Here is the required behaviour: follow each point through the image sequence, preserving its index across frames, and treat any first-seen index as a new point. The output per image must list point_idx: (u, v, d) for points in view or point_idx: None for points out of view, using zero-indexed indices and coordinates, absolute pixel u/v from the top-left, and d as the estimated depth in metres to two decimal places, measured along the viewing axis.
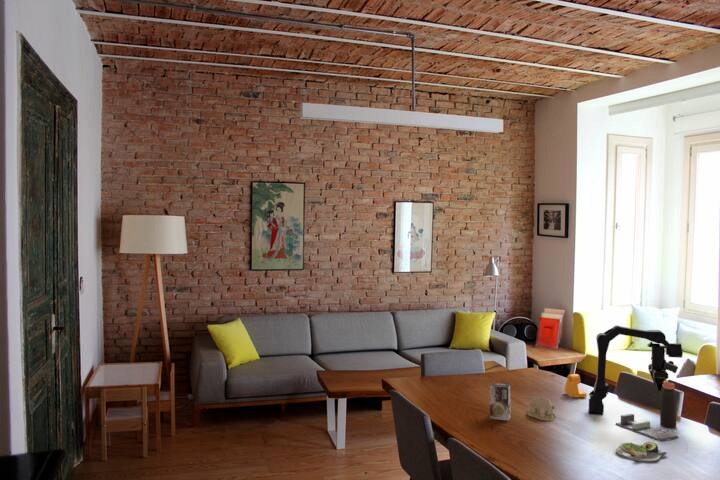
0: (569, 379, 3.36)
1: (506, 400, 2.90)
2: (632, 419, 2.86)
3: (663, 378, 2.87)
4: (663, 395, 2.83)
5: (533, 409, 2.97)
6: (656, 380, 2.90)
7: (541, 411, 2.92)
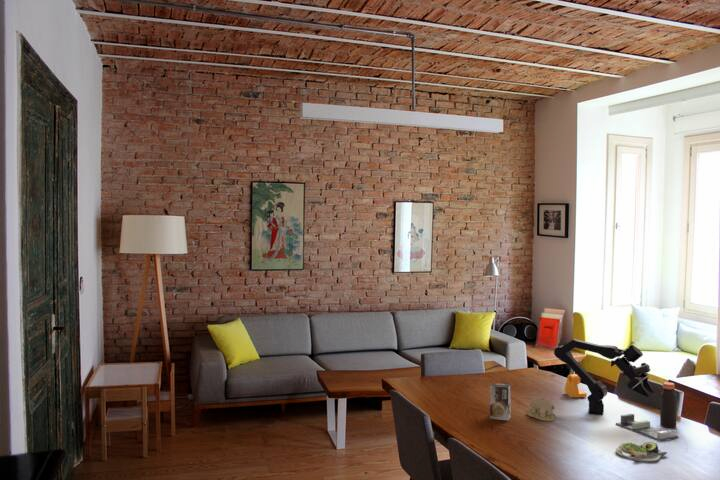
0: (569, 379, 3.36)
1: (506, 400, 2.90)
2: (632, 419, 2.86)
3: (638, 384, 2.84)
4: (663, 395, 2.83)
5: (533, 409, 2.97)
6: (636, 390, 2.86)
7: (541, 411, 2.92)
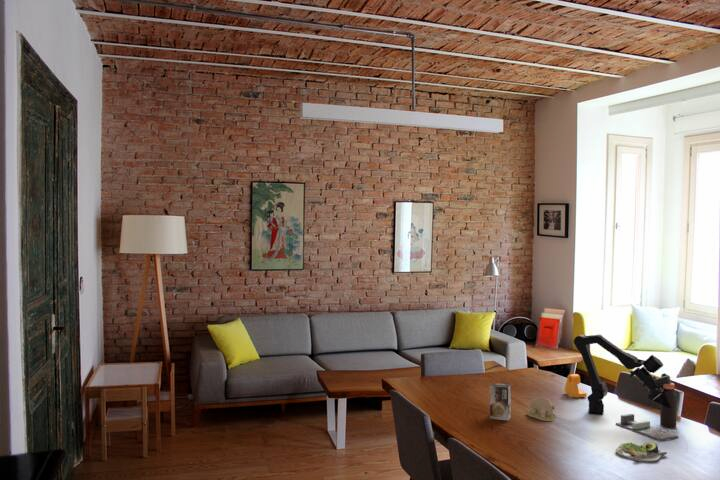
0: (569, 379, 3.36)
1: (506, 400, 2.90)
2: (632, 419, 2.86)
3: (659, 395, 2.80)
4: None
5: (533, 409, 2.97)
6: (658, 401, 2.82)
7: (541, 411, 2.92)
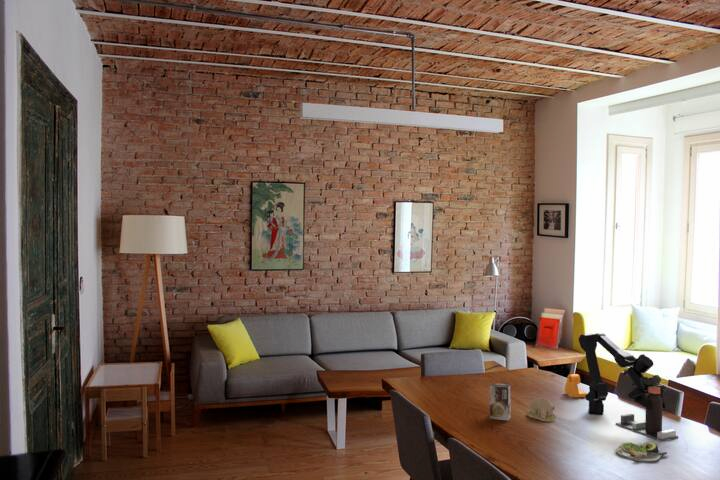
0: (569, 379, 3.36)
1: (506, 400, 2.90)
2: (632, 419, 2.86)
3: (638, 396, 2.71)
4: (646, 398, 2.73)
5: (533, 410, 2.96)
6: (639, 401, 2.73)
7: (542, 412, 2.91)
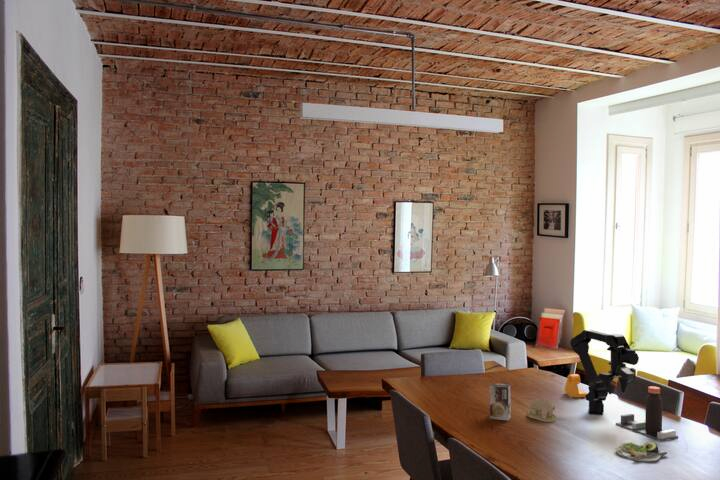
0: (569, 379, 3.36)
1: (506, 400, 2.90)
2: (632, 419, 2.86)
3: (606, 381, 2.88)
4: (646, 398, 2.73)
5: (534, 411, 2.95)
6: (605, 382, 2.91)
7: (543, 412, 2.90)
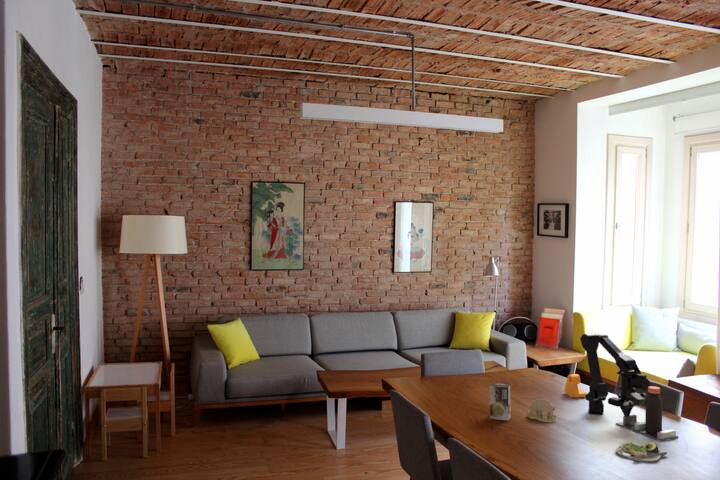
0: (569, 379, 3.36)
1: (506, 400, 2.90)
2: (634, 420, 2.85)
3: (623, 405, 2.84)
4: (646, 398, 2.73)
5: (534, 411, 2.94)
6: (621, 406, 2.87)
7: (544, 413, 2.89)
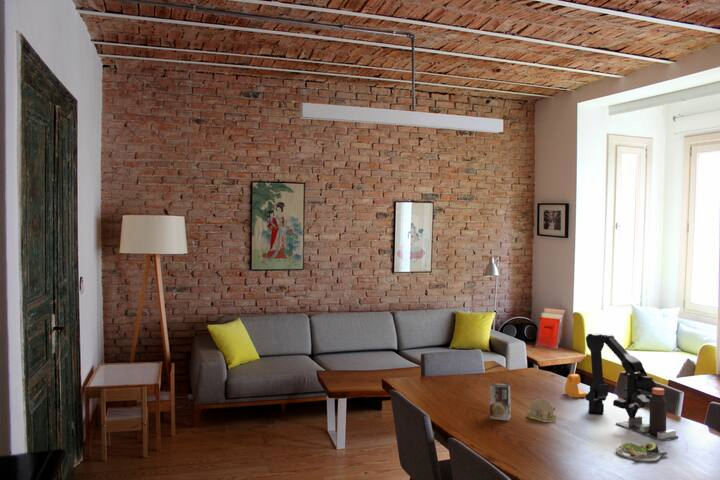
0: (569, 379, 3.36)
1: (506, 400, 2.90)
2: (640, 422, 2.82)
3: (628, 407, 2.81)
4: (650, 400, 2.71)
5: (534, 411, 2.94)
6: (626, 408, 2.84)
7: (544, 413, 2.89)
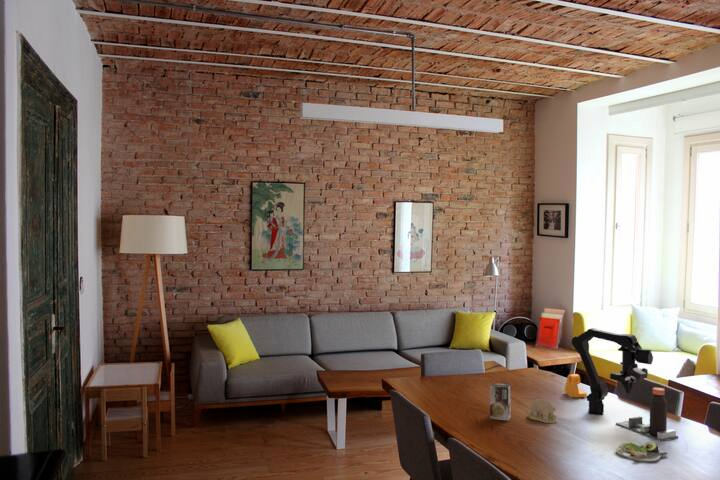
0: (569, 379, 3.36)
1: (506, 400, 2.90)
2: (640, 422, 2.82)
3: (624, 380, 2.90)
4: (650, 400, 2.71)
5: (535, 412, 2.93)
6: (622, 382, 2.93)
7: (544, 414, 2.88)
